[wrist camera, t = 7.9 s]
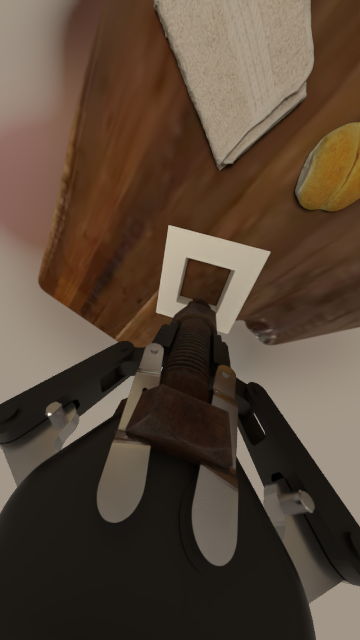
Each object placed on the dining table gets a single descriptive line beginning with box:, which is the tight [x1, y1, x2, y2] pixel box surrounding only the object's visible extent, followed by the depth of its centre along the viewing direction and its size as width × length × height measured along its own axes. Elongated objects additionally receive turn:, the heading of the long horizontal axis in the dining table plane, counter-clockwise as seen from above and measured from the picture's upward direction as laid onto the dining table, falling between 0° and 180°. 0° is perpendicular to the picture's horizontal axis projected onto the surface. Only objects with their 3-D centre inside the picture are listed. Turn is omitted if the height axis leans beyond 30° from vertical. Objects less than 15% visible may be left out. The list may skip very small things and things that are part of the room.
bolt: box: [113, 298, 233, 468], centre depth 12 cm, size 6×5×15 cm
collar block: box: [156, 225, 270, 334], centre depth 28 cm, size 17×17×4 cm
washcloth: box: [154, 0, 314, 171], centre depth 15 cm, size 12×18×3 cm, turn 34°
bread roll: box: [295, 122, 360, 211], centre depth 18 cm, size 8×9×4 cm
